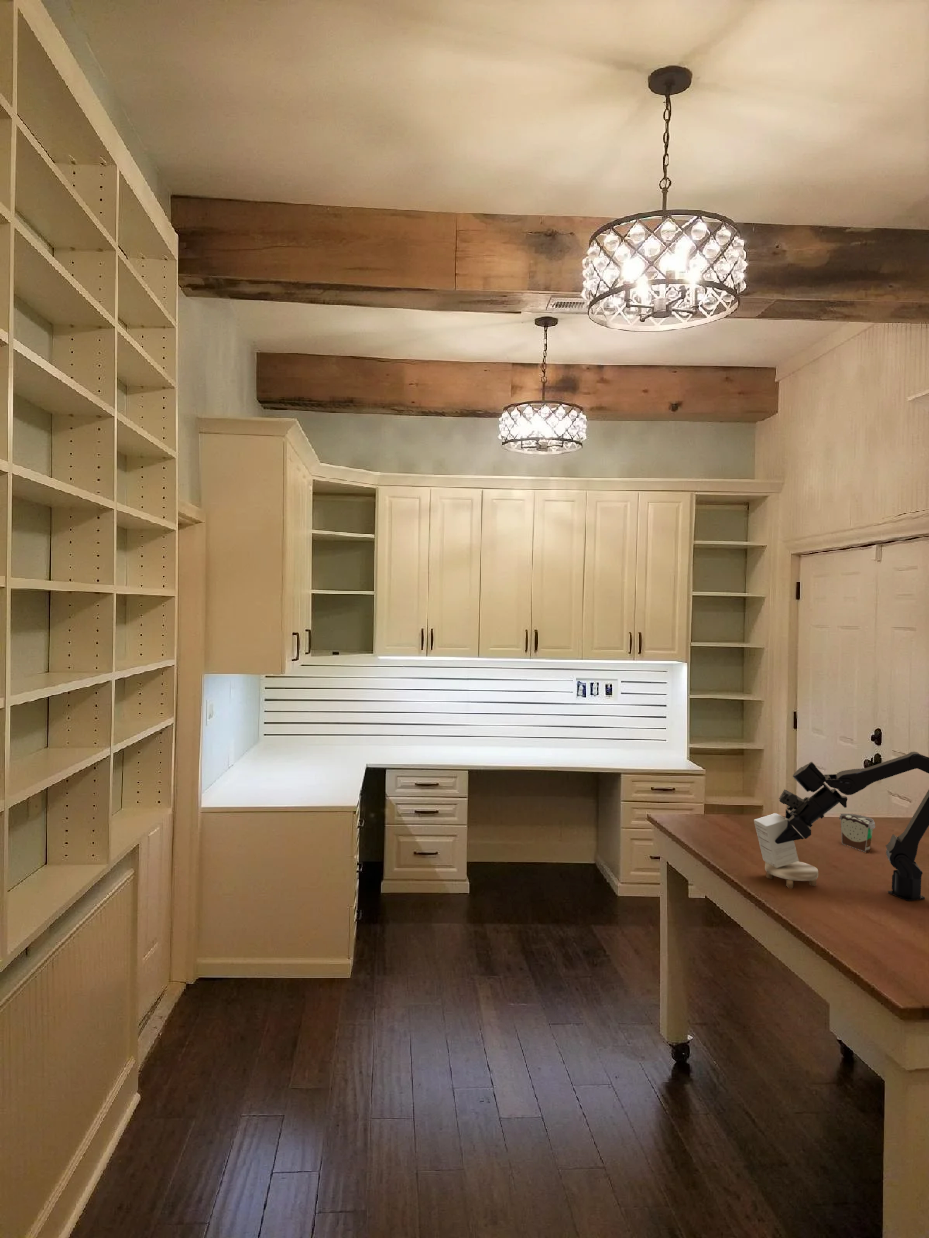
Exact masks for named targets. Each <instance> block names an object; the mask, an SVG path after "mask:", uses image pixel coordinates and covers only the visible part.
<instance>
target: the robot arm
mask: <svg viewBox="0 0 929 1238" xmlns="http://www.w3.org/2000/svg"><path fill="white" fill-rule="evenodd" d="M916 769H917V770H920V771H921V772H924V773H927V774H929V756H926V755H924V754H921V753H920V752H917V751H911V752H909V753H907V754H904V755H901V756H897V757H895V758H892V759H890V760H886V761H883V762H879V763H877V764H875V765H871V766H868V767H865V768H852V769H847V770H846V769H845V770H841V771H838V772H837V773H836V774H835V773H833V774H832V773H831V774H830V773H829V774H824V773H822V772H821V770H820V769H819V768H818V767H817V765H816V764H815V763H814V762H813V761H810V762H809V763H807V764H805V765H804V766H800V768H798V769H797V770H796V771H795V772H794V773H793V774H792V777H793V779H795V781H796V782H798V784H799V785H800V786H801V788H803V789H804V790H805V791H806V792H807V793H808V792H811V793H813V794H812V795H811V796H808V797H807V796H806V797H804V798H801V797H800V796H798V795H797V794H795V793H793V792H790V791H789V790H788V789H783V790H782V792H781V794H780V796H779V798H778V799H779V802H780V803H781V804H783V805H786V809H785V816H784V817H785V818H787V819H789V820H787V828H786V829H785V830H784V831H783V832H782V833H781V834H780V835H779V836H778V838H777V839H776V840H775V842H776V843H777V844H780V843H785V842H789V841H794V842H795V841H798V840H804V839H805V840H807V839H808V838H809V837H811V836H812V829H811V827H813V826H814V825H813V824H814V823H815V822H817V820H819V819H823V818H825V814H826V813H828V812H830V811H831V810H832V809H833V808H835V806H837V805H838V804H840V805H842V807H843V808H845V809H846V808H847V807H848V805H847V803H848V802H847V801H848V797H847V796H852V795H855V794H856V793H858V792H860V791H862V790H864V789H865V788H867V787H868V786H870V785H871V784H873V783H875V782H879V781H882V780H886V779H888V778H892V777H894V776H897V775H901V774H903V773H906V772H909V771H912V770H916ZM831 788H832V789H831ZM841 794H843V795H845V796H843V795H841ZM928 828H929V789H927V792H926V793H925V795H924V796H923V798H922V800H921V802H920V803H919V805H918V807H917V808H916V810H915V812H914V814H913V815H912V817H911V819H910V820H909V822H908V824H907V825H906V827H905V829H904V831H903V832H902V833H901V834H899V835H898V836H896V834H892V835H891V837H890V840H889V842H888V843H887V844H885V847H886V850H885V855H886V857H887V859H888V861H889V863H890V865H891V866H892V867H893V868H894V870H893V872H892V876H891V890H888V891H887V893H888V894H889V895H893V896H894V897H898V898H900V899H902V900H904V901H907V902H908V901H909V902H910V901H911V902H912V901H919V900H925V899H926V897H925V896H924V895H922V894H921V893H922V875H924V874H923V871H922V870H921V868H920V866H919V865H918V863H917V862H916V861H915V860H916V858H917V854H918V848H919V845H920V842H921V840H922V838H923V837H924V834H925V833H926V831H927V830H928Z"/></svg>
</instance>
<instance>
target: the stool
mask: <svg viewBox="0 0 929 1238" xmlns="http://www.w3.org/2000/svg"><path fill="white" fill-rule="evenodd" d="M764 870H765V872H766V878H767V879H772V880H773V879H774V877H778V878H780V879H784V880H785V887H786V886H787V887H789V888H788V889H793V888H794V881H799V882H808V884H809V885H810V886H813V887H816V886H817V879H818V877H819V870H818V868H817V867H815V866H814V865H812V864H809V863H807V862H803V861H800V860H799V861H797V862H794V863H791V864H788V865H784V866H781V867H778V868H775V867H774V866H772V865H770V864H768V863H767V862H765V863H764ZM787 887H786V888H787Z"/></svg>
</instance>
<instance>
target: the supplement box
mask: <svg viewBox="0 0 929 1238" xmlns="http://www.w3.org/2000/svg"><path fill="white" fill-rule="evenodd" d="M787 820H789V819H787V818H785V816H783V815H781V814H778V813H777V812H774V813H772V814H768V815H764V816H761V817H758V818H755V819H753V823H754V828H755V831H756V835H757V840H758V843H759V848H760V852H761V855H762V856H761V857H762V860H763V861H764V862H765V863H766V862H767V863H768V864H770V865H772V866H774V867H775V868H778V867H781V866H784V865H788V864H791V863H794V862H797V861H799V862H800V860H799V856H798V851H797V848H796V843H795V840H794V841H789V842H785V843H780V844H777V843H776V842H775V840H776V839H777V838H778V836H779V835H780V834H781V833H782V832H783V831H784V830H785V829H786V828H787Z"/></svg>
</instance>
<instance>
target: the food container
mask: <svg viewBox="0 0 929 1238" xmlns="http://www.w3.org/2000/svg"><path fill="white" fill-rule="evenodd" d="M838 820H840V835H841V845H843V846H846V845H848V846H850V847H849V848H851V847H852V849H854V848H855V850H857V849H859V850H858V851H860V850H861V851H860V852H862V851H863V853H865V852H866V853H869V852H870V850H871V843H872V837H873V830H874V829H875V828H876V823H875V821H874V819H873V818H871V817H869V816H866V815H862V814H856V813H843V812H842V813H840V815H839V818H838ZM848 846H847V847H848Z"/></svg>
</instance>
